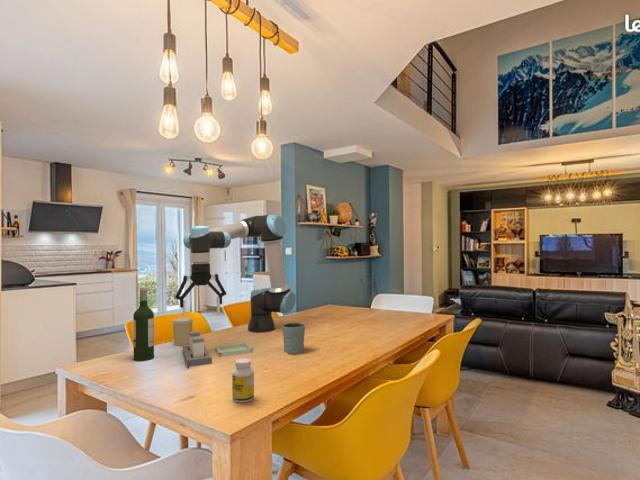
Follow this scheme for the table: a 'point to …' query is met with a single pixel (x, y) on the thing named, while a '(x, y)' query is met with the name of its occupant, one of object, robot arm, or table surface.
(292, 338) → the grey-green cup
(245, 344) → the tray
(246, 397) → the pill bottle
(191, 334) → the twin plug
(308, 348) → the table surface
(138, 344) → the wine bottle
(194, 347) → the plug
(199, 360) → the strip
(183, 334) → the coffee cup
